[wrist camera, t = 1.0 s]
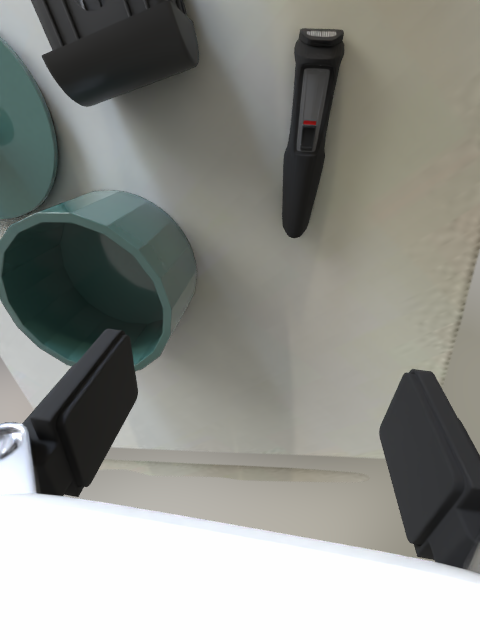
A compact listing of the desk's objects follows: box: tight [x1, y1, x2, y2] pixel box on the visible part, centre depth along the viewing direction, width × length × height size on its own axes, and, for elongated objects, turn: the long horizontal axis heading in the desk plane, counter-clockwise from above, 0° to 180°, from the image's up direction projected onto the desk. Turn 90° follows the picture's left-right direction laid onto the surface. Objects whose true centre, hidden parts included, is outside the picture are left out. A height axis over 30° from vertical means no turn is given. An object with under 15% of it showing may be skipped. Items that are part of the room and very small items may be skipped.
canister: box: [0, 190, 197, 371], centre depth 34 cm, size 17×17×10 cm
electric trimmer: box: [282, 29, 344, 238], centre depth 28 cm, size 4×16×3 cm, turn 177°
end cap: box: [31, 0, 199, 107], centre depth 24 cm, size 10×7×7 cm
